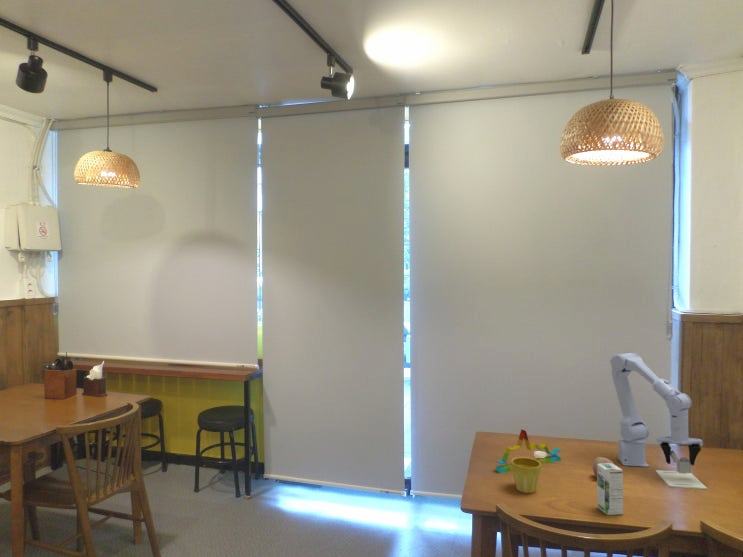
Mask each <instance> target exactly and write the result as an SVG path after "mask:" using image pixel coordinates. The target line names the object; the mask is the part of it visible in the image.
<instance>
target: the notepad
mask: <svg viewBox="0 0 743 557" xmlns="http://www.w3.org/2000/svg"><path fill="white" fill-rule="evenodd" d="M655 473H657V475H658V476H659V477H660V478H661V479H662V481H663V482H664V483H665V484H666V485H667V486H668V487H669V488H681V489H683V488H684V489H685V488H686V489H695V490H697V489H698V490H708V487H707V486H705V484H703V483H702V482H701V481H700V480H699V479H698V478H697V477H696V475H695V474H693V472H691V473H679V472H677V471H675V470H660V469H659V470H658V469H657V470H655Z"/></svg>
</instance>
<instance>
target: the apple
mask: <svg viewBox="0 0 743 557" xmlns="http://www.w3.org/2000/svg"><path fill="white" fill-rule="evenodd" d="M601 463H612V464H614V462H613V460H610V459H608V458H606V457H601V456H598V457H596V458H595V459H594V460H593V462H592V467H591V468H592V471H593V474H594V476H596V477H597V464H601ZM614 465H615V464H614Z"/></svg>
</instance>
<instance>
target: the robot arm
mask: <svg viewBox="0 0 743 557" xmlns="http://www.w3.org/2000/svg"><path fill="white" fill-rule="evenodd" d="M609 362H610V365H611V376H612V381H613V385H614V388H615V392H616V395H617V398H618V402H619V407H620V409H621V412H622V413H621V414H622V419H621V421H620V422H619V426H620V436H621V437H622V439H620V440H618V446H617V449H618V453H617V454H618V457H617V459H618V460H619V462H620V463H621V464H622V465H623V466H630V467H644V468H645V467H646V468H647V467H648V468H649V467H650V465H649V464H648V462H647V461H646V441H647V438H648V437H649V436H650V430H649V427H648V426H647V424H646V422H645V420H644V419H643V418H642V417H641V416H640V415H639V414H638V410H637V407H636V406H637V405H636V403H635V400H634V397H633V392H632V389H631V386H630V382H629V379H628V376H629V375H630V374H631V372H636V373H637V374H638V375H640V376H641V377H643V378H644V379H645V380H646V381H647V382H648V383H650V384H651V385H652V390H653V391H654V392H656V393H657V394H658V396H660V397H661V398H662V400H664V402H665V405H666V406H667V408H668V410H669V412H668V413H669V418H670V419H669V422H670V424H669V425H670V426H669V427H670V429H669V430H670V431H669V432H670V433H669V434H670V435H668V436H657V437H656V443H658V444H659V446H660V448H661V450H662V452H663V454H664V457H665V462H666V463H667V464H668V465H671V456H670V451H671V449H672V447H671V446H670V444H672V445H687V446H688V452H689V453H688V456H689V459H688V460H689V461H691V466H695V463H696V459H697V457H698V455H699V453H700V451H701V450H702V447H703V444H704V441H703V440H702V439H701V438H693V437H690V436H689V434H690V433H689V409H690V408H691V407H692V404H693V402H692V399H691V397H690V396H689V395H688V394H687V393H683V392H680V390H678V389H677V388H675V387H674V385H672V384H671V383H670V381H669V380H668V379H665V378H660V377H659V376H658V375H656V374H655V372H654V371H652V369H651V368H649V366H648V365H647V364H645V362H644V361H643V358H642V357H640V356H639V355H638V354H637V353H636V352H629V353H628V352H627V353H615V354H614V355H613V356H612V358H611V359H610V360H609Z"/></svg>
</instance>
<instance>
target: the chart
mask: <svg viewBox="0 0 743 557" xmlns="http://www.w3.org/2000/svg"><path fill="white" fill-rule="evenodd" d="M523 442H524V444H525V448H526V450H528V451H531V452H532V450H533V449H536V450H539V451H543V450H544V451H545V452H546V454H549V455H547V456H546V457H545V456H544V457H545V458H540V457H536V458H534V459H535V460H537V461H539V462H540V463H541V466H543V465H546V464H550V463H556V462H560V461H562V460H561V458H562V457H561V456H560V455H558V453H560V452H561V449H560V448H557V447H555V448H554V449H553V450H552V451H551V450H549V447H548V446H547V445H546V444H544V443H542V442H541V443H540V444H539V445H538V444H537V443H535V442H533V441H532V442H531V441H529V438H528V434H527V430H524V429H521V428H520V433H519V436H518V439H517V442H516V444H515V445H513V446H512V447H506V448H505V451H504V453H503V456H502V458H501V460H496V461H495V462H497V463H498V464H500V465H497V466H496V465H495V471H496V472H497V473H499V474H503V473H508V472H512V471H511V463H507V462H508V459H509V456H510V453H511V452H512V451H514V452H515V451H517V450H520V449H521V448H522V446H523Z"/></svg>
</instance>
